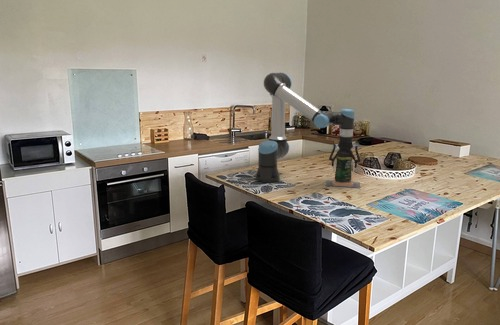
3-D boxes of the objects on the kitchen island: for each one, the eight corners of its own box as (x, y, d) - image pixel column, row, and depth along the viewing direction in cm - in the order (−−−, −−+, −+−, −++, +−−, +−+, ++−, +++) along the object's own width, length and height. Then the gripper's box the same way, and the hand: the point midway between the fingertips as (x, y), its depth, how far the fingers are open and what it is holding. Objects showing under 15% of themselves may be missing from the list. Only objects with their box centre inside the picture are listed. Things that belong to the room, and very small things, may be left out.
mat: (325, 185, 225) (325, 185, 225) (326, 180, 235) (326, 180, 235) (360, 188, 220) (360, 187, 220) (359, 183, 230) (359, 182, 230)
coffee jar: (341, 183, 222) (343, 152, 218) (332, 180, 229) (333, 149, 224) (353, 181, 226) (355, 150, 222) (344, 178, 233) (346, 148, 229)
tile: (333, 179, 235) (332, 185, 224) (333, 177, 235) (332, 182, 224) (353, 181, 232) (353, 187, 221) (353, 178, 232) (353, 184, 221)
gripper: (325, 136, 220) (323, 172, 225) (367, 138, 215) (363, 175, 220) (326, 133, 227) (324, 169, 232) (366, 135, 222) (363, 172, 227)
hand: (343, 172), depth 226 cm, fingers open, 11 cm apart
